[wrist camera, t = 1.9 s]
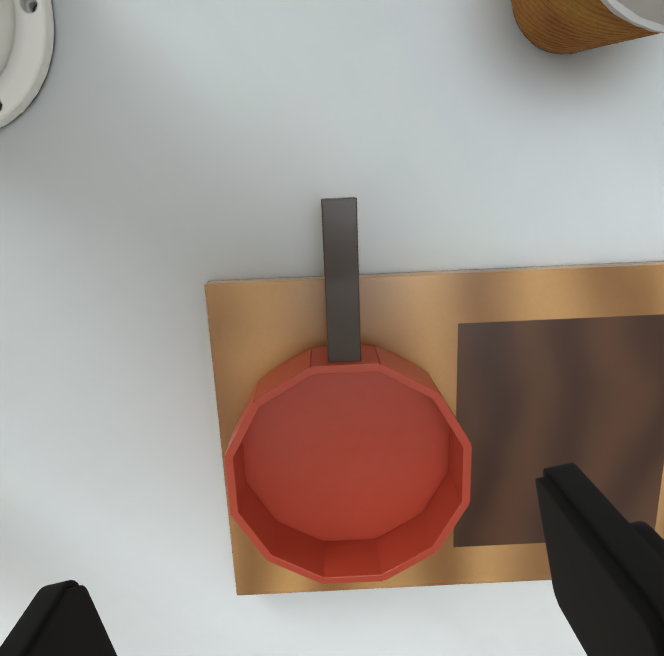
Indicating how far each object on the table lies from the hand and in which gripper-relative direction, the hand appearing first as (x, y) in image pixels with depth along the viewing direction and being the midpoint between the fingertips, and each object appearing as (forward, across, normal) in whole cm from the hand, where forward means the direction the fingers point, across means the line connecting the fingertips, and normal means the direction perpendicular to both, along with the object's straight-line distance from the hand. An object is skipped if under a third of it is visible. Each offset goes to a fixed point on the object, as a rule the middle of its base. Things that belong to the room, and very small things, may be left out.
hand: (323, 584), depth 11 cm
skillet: (+22, 0, +5) cm, 23 cm away
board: (+23, -7, +10) cm, 27 cm away
